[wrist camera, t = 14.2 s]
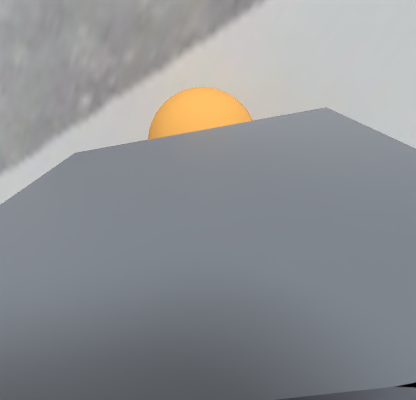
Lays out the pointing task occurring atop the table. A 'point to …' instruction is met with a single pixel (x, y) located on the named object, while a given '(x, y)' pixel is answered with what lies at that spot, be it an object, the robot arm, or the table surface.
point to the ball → (197, 112)
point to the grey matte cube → (216, 268)
